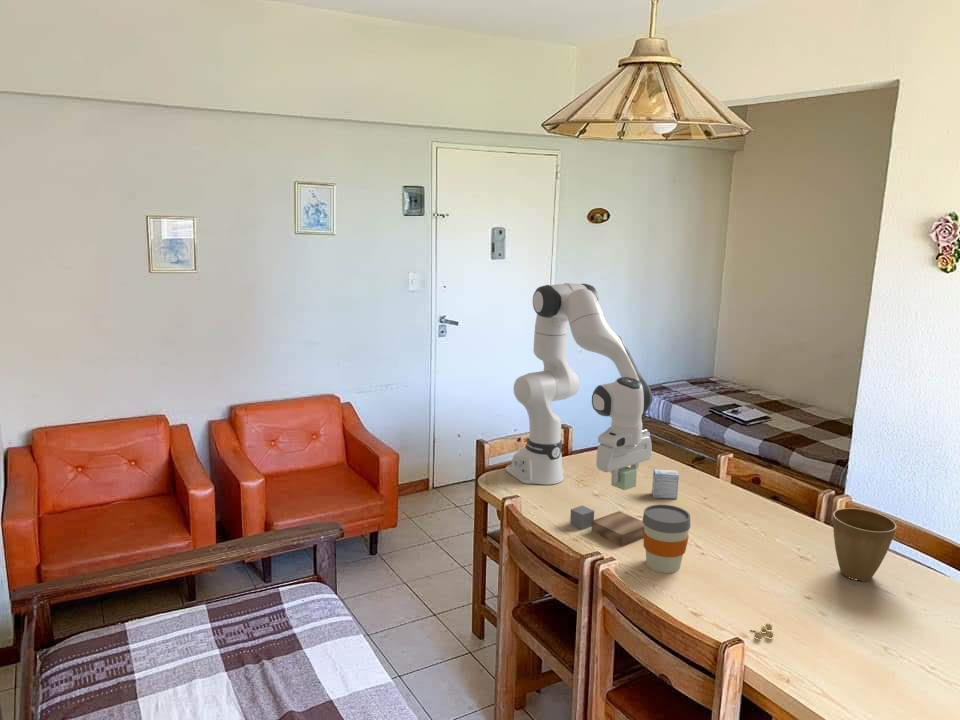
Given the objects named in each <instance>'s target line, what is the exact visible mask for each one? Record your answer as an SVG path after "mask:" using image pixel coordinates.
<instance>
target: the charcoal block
mask: <svg viewBox="0 0 960 720" xmlns="http://www.w3.org/2000/svg"><path fill="white" fill-rule="evenodd" d="M569 519H570V520H569V525H571V526H573V527H575V528H577V529H579V530H581V531H583V530H586V529H589V528H592V521H593V520H595V510H593V509H591V508H589V507H587V506H584V505H580V506H579V505H578V506H576V507H574V508H570V518H569Z"/></svg>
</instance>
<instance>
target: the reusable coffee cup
mask: <svg viewBox="0 0 960 720" xmlns="http://www.w3.org/2000/svg"><path fill="white" fill-rule="evenodd" d="M642 521H643V523H644V529H643V539H642V541H643V548H644V549H645V560H646V561H645V563H646V567H648V568H649V569H651V570H652V571H654V572H658V573H661V574H663V573H664V574H671V573H676V572H678V571H679V570H680V569H681V567H682V566H681V565H682V561H683V557H684V554H685V553H686V550H687V546H688V541H689V537H690V536H689V530H690V529H691V515H690V513H689V512H688V511H687V510H686V509H683V508H681V507H678V506H676V505H675V506H674V505H670V504H652V505H649V506H647V507H646V508H645V509H644V510H643V515H642Z"/></svg>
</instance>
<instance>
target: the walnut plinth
mask: <svg viewBox="0 0 960 720" xmlns="http://www.w3.org/2000/svg"><path fill="white" fill-rule="evenodd" d="M643 529H644V523H643V520H640V519H638V518H636V517H634V516H631V515H629V514H627V513H625V512H622V511H620V510H618V511H616V512H613V513H610V514H607V515H604V516H602V517H599V518H596V519H595V518H594V520H593V521H592V527H591V531H590V532H591V533H592V534H594V535H596V536H600V537H601V538H603V539H604V540H607V541H610V542H611V543H613V544H615V545H617V546H619V547H621V548H623V547H625V546H628V545H630V544H632V543H635V542H638V541H639V540H643Z"/></svg>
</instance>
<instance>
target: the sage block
mask: <svg viewBox="0 0 960 720" xmlns="http://www.w3.org/2000/svg"><path fill="white" fill-rule="evenodd" d="M637 470H638V469H637ZM637 470H635V469H632V468H630V467H629V466H626V467H623V468H620V469H619V472H617V474H618V476H620V482H618V483H615V482H613V481H612V479H610V481H611V482H610V483H611V486H613V487H615V488H617V489H621V490H622V491H626V490H630V489H632V488H636V487H637Z"/></svg>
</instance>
